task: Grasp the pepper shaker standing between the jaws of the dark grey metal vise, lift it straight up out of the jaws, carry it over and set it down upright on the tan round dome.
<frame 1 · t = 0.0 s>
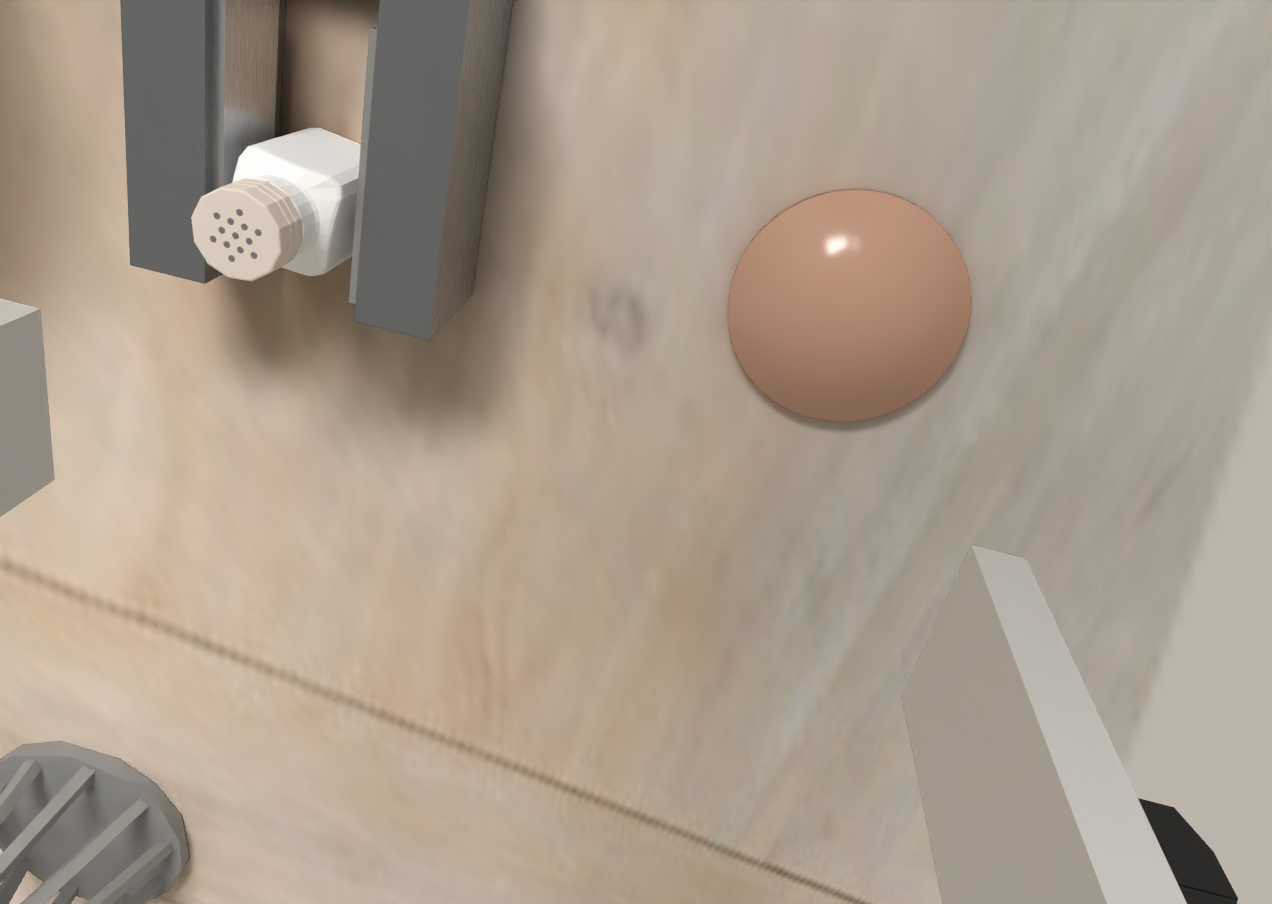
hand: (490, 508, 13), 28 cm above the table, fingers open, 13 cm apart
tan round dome: (846, 308, 40), on the table
pepper shaker: (349, 183, 40), on the table
vase: (91, 818, 61), on the table
vise: (346, 184, 40), on the table
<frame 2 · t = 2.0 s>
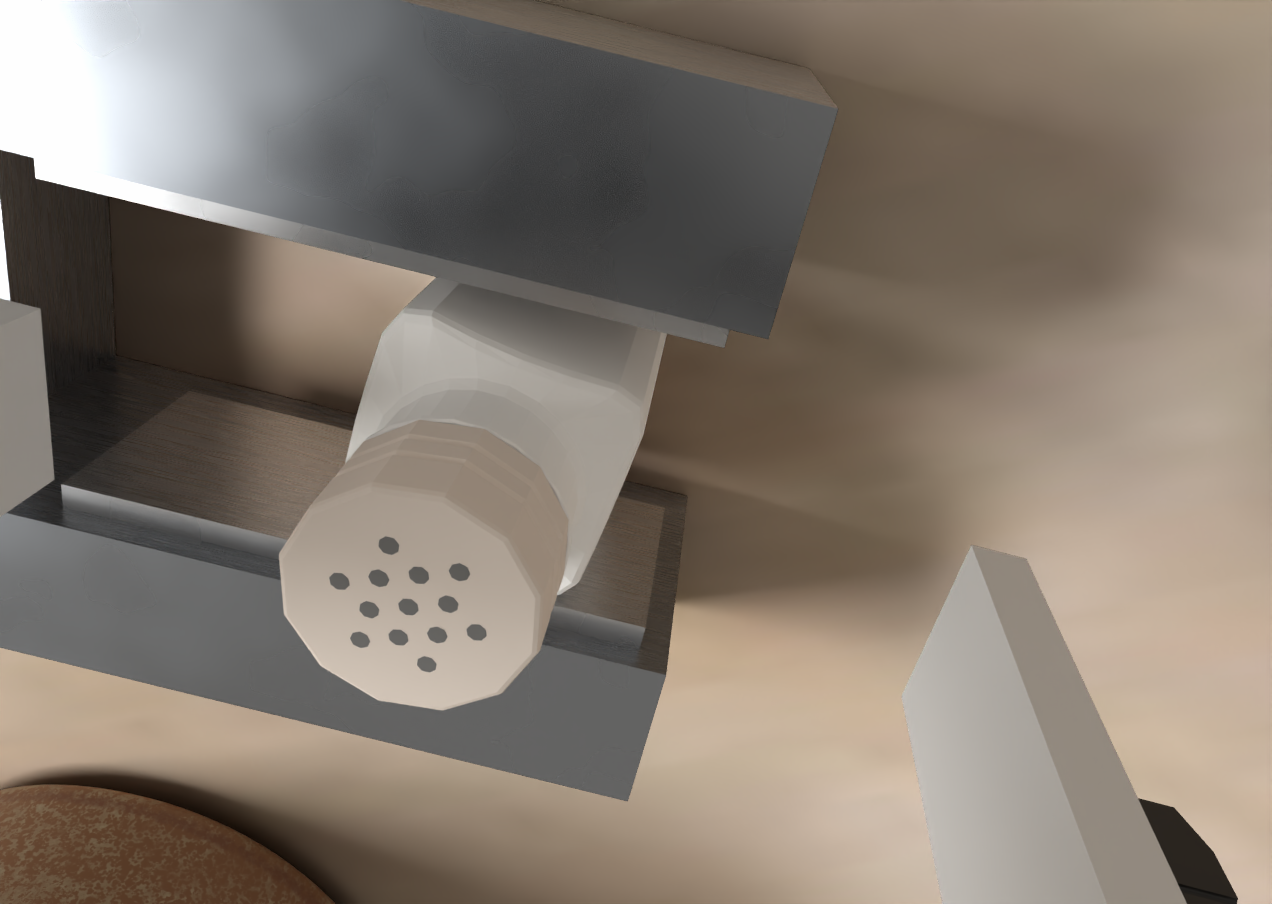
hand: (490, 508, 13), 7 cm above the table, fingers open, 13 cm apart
pepper shaker: (559, 329, 19), on the table
vise: (557, 333, 19), on the table
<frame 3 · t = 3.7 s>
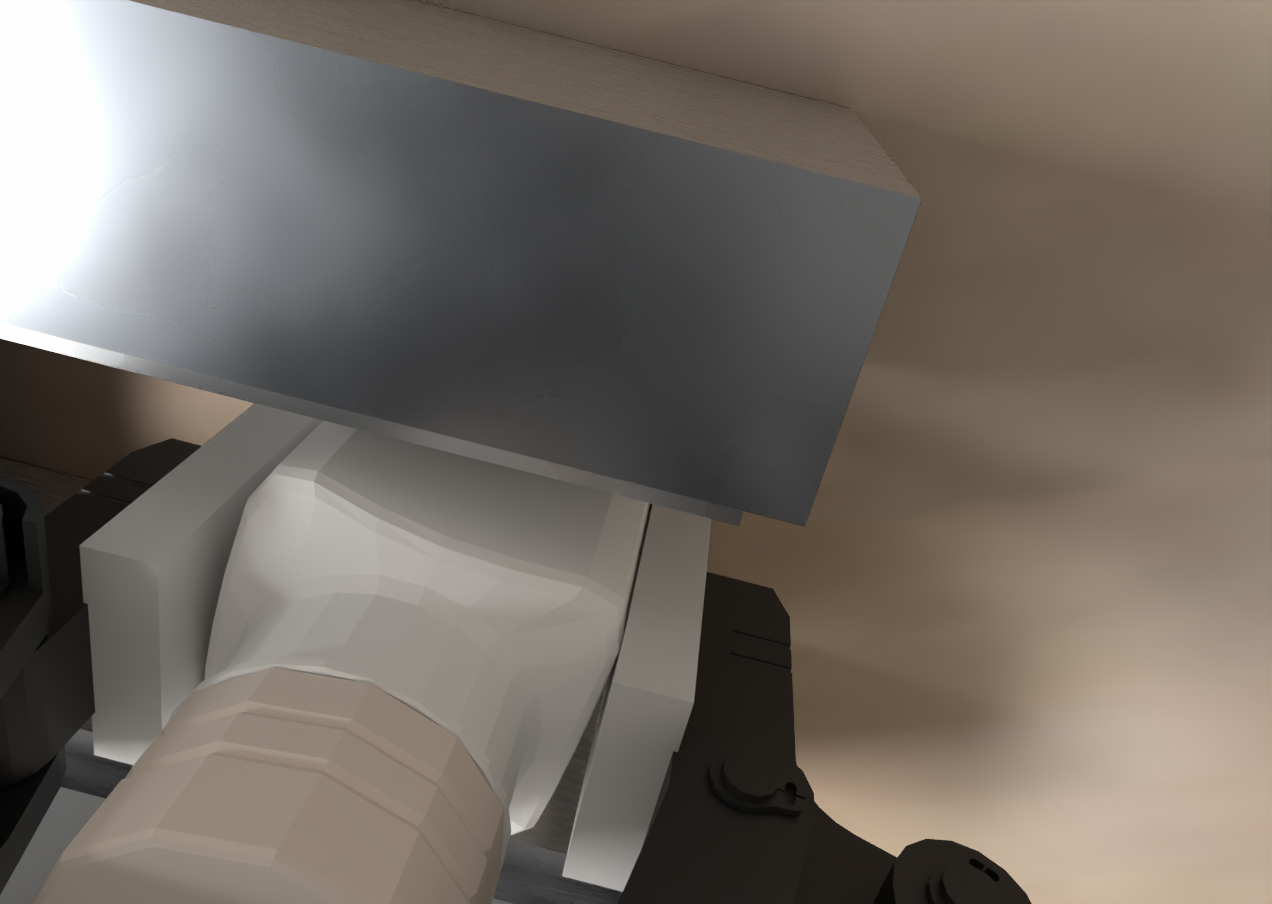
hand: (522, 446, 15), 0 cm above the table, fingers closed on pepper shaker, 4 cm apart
pepper shaker: (529, 431, 15), on the table, touching gripper
vise: (526, 437, 15), on the table
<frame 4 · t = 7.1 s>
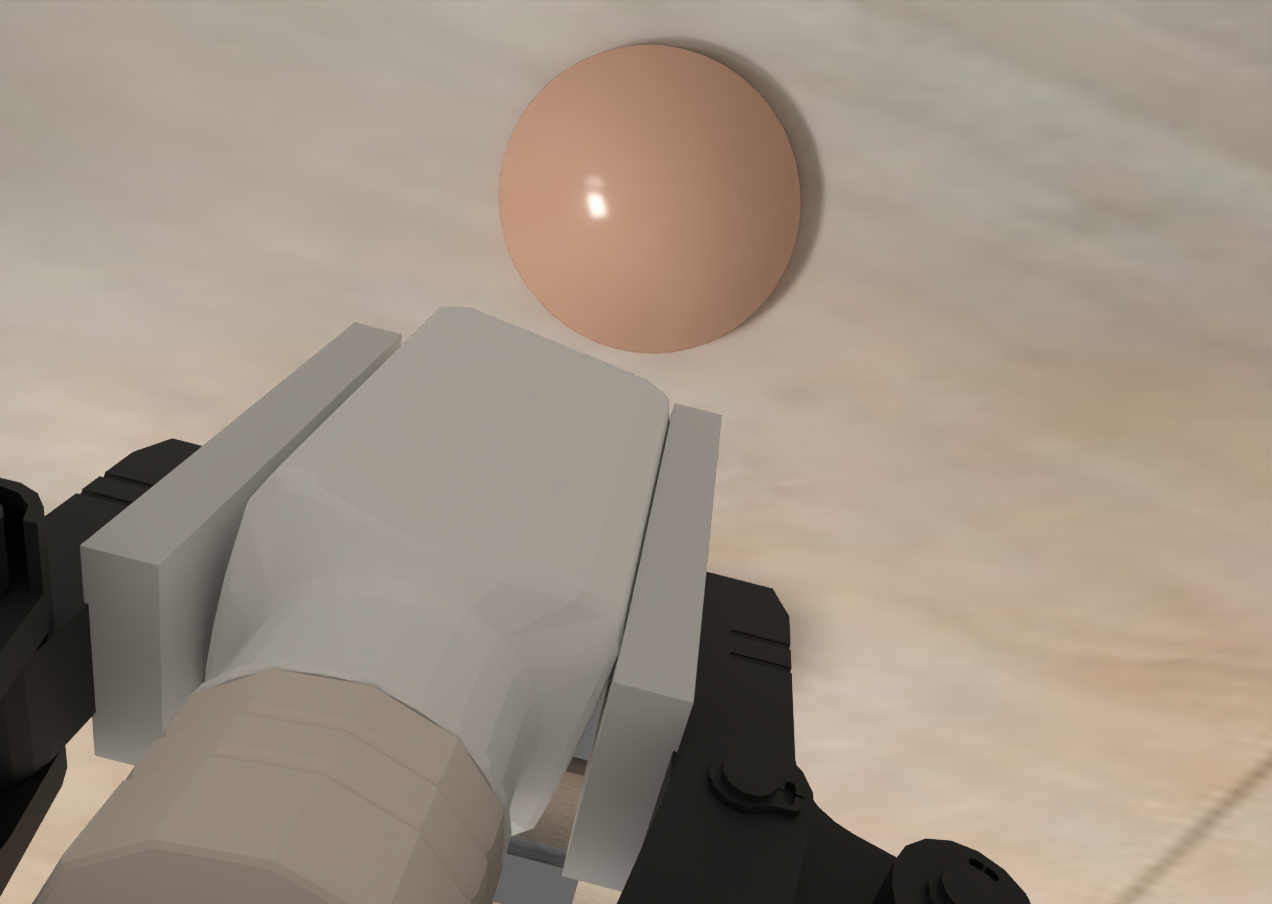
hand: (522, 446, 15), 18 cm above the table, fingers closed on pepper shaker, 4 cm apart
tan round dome: (649, 206, 31), on the table
pepper shaker: (530, 432, 15), point 18 cm above the table, touching gripper
vise: (540, 694, 41), on the table
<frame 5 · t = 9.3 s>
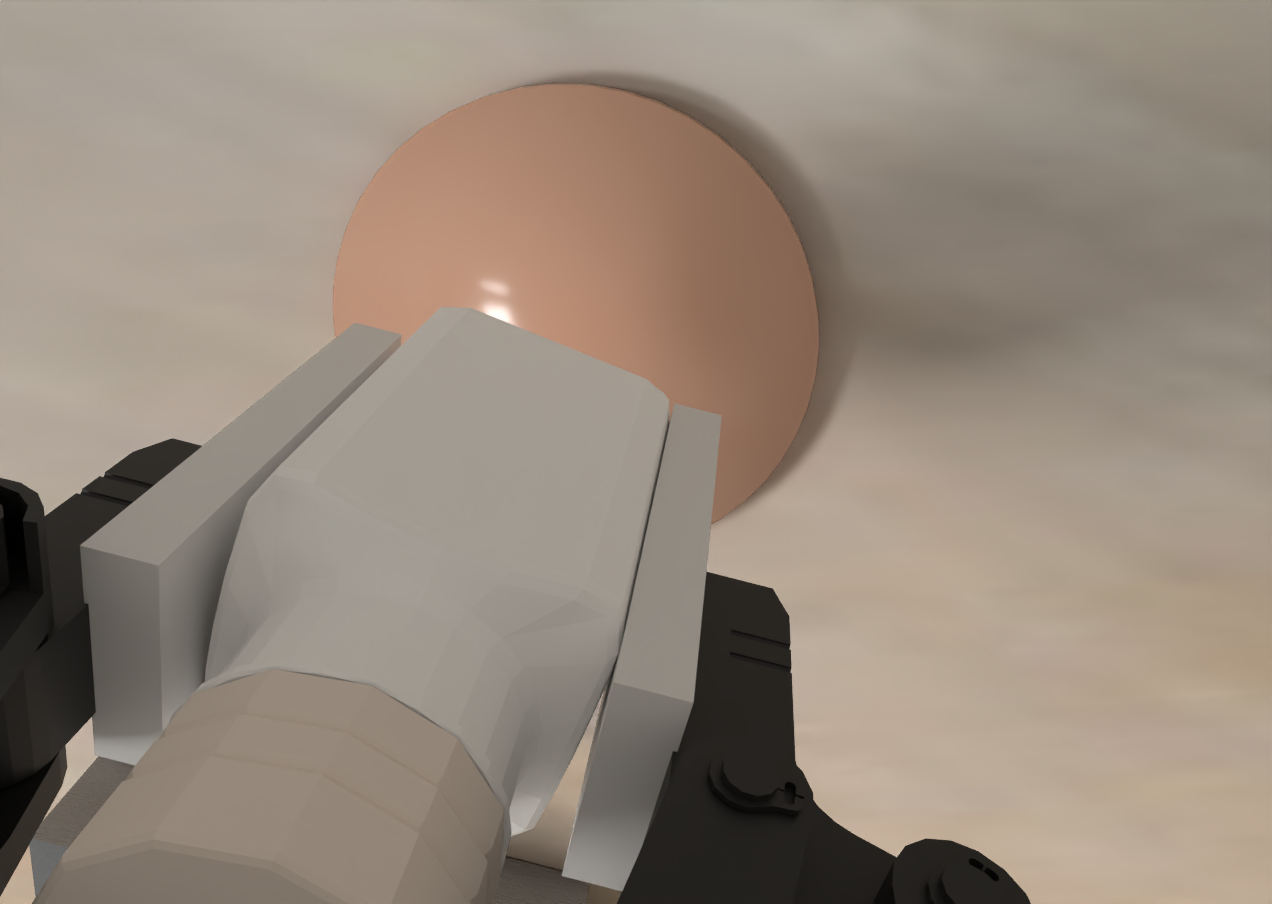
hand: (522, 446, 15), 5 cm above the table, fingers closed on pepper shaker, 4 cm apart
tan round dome: (575, 337, 20), on the table
pepper shaker: (530, 432, 15), point 5 cm above the table, touching gripper
when the fingers open (2 cm above the table, at t = 10.7 s): pepper shaker drops 1 cm, resting on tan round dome.
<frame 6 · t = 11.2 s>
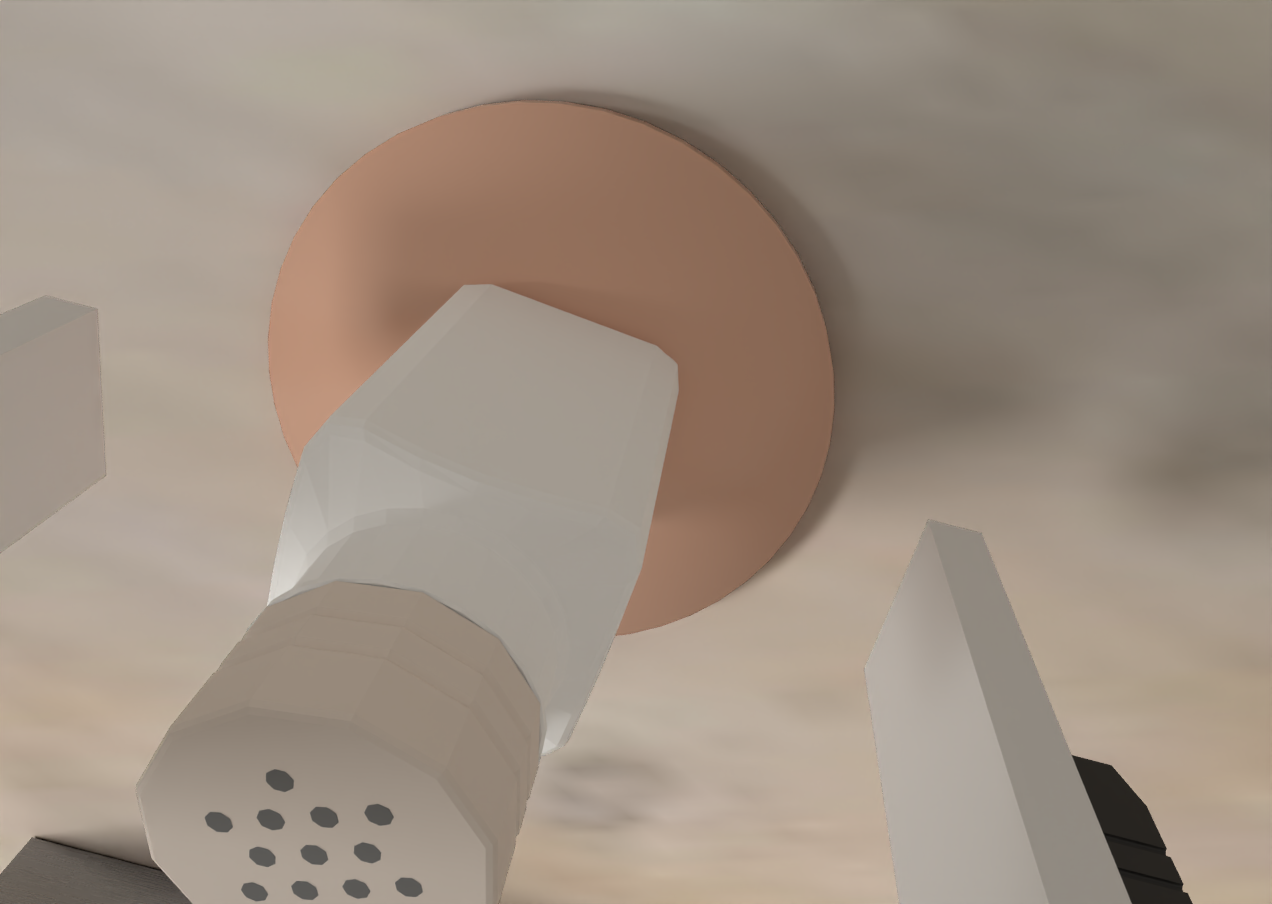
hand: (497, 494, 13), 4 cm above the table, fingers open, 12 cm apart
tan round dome: (550, 393, 17), on the table
pepper shaker: (549, 402, 16), resting on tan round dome
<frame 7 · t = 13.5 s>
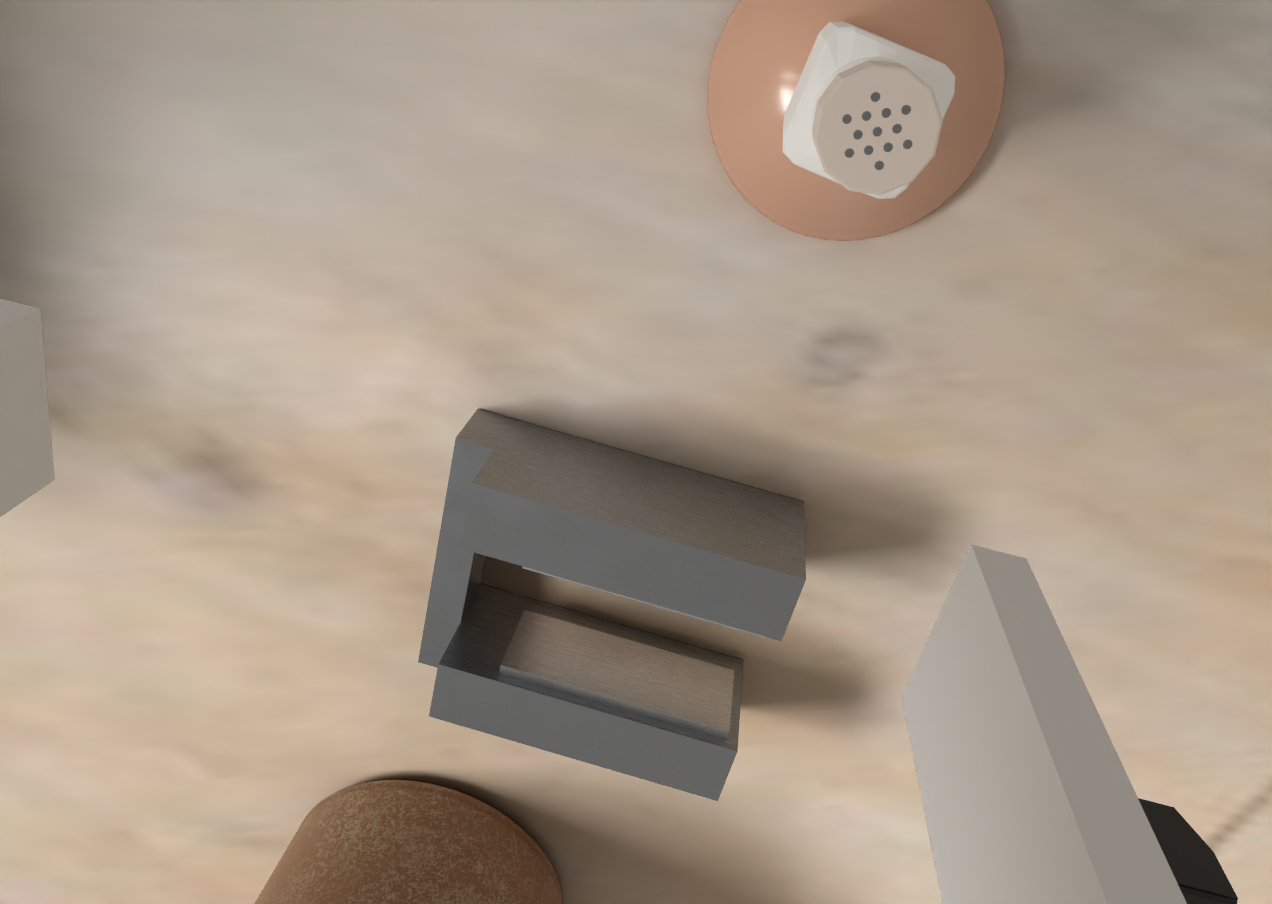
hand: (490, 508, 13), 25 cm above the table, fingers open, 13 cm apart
planter: (433, 869, 54), on the table
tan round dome: (851, 94, 33), on the table
pepper shaker: (853, 95, 32), resting on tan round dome
vise: (688, 589, 43), on the table
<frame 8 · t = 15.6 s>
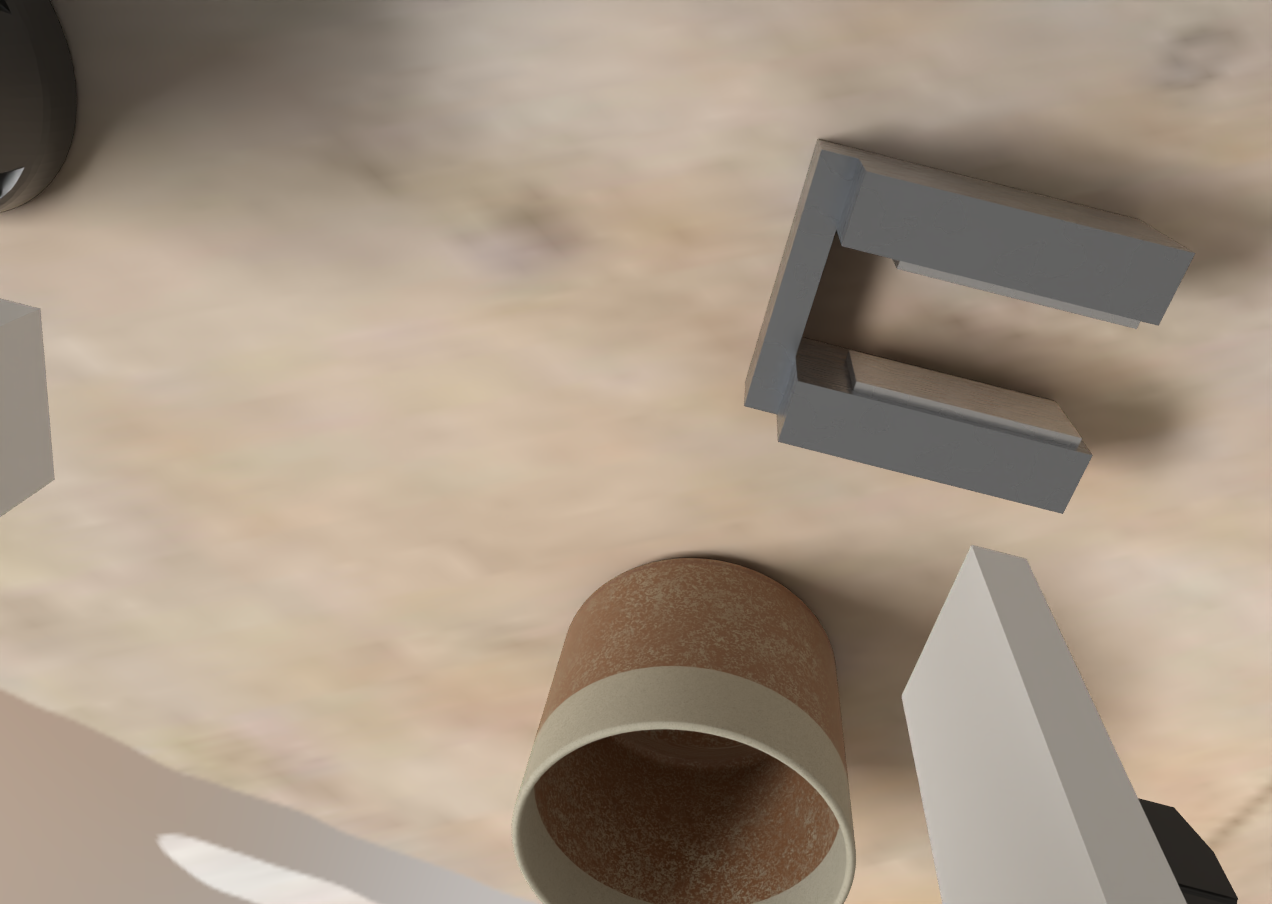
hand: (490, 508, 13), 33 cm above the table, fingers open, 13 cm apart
planter: (698, 662, 55), on the table
vise: (1007, 325, 44), on the table
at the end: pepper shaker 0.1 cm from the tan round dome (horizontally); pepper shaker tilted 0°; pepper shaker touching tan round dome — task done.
